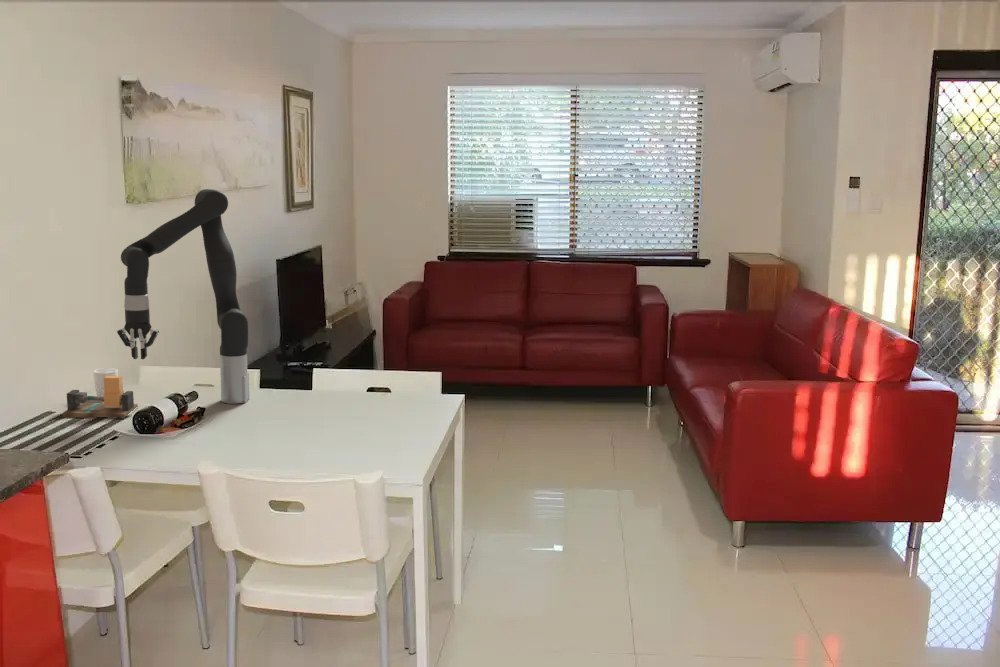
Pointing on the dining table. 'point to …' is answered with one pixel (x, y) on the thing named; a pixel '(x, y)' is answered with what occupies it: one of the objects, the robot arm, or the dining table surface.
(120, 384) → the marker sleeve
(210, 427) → the dining table surface
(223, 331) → the robot arm
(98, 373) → the white cup
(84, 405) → the wooden board with posts
